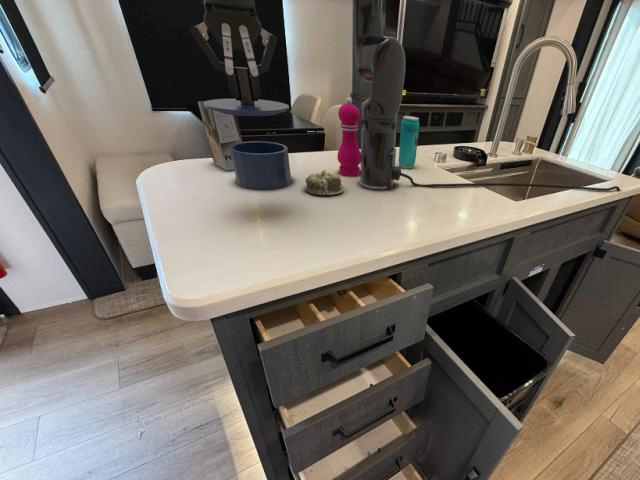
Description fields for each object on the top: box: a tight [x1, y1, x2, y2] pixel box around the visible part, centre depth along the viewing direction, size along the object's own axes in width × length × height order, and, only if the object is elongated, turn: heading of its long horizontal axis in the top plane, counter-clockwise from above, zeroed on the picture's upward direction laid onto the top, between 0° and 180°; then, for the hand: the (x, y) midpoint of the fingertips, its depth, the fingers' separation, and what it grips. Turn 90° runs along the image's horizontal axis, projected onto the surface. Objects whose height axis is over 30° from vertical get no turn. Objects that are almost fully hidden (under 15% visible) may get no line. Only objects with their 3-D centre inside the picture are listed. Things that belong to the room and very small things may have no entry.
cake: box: [305, 169, 345, 196], centre depth 84 cm, size 10×10×5 cm
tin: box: [230, 140, 292, 191], centre depth 84 cm, size 14×14×8 cm
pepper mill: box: [336, 96, 361, 177], centre depth 93 cm, size 7×7×20 cm
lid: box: [203, 66, 290, 117], centre depth 58 cm, size 15×15×7 cm
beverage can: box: [398, 115, 420, 170], centre depth 106 cm, size 6×6×15 cm
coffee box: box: [197, 100, 243, 172], centre depth 90 cm, size 9×6×16 cm
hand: (247, 99), depth 59 cm, fingers closed on lid, 2 cm apart
